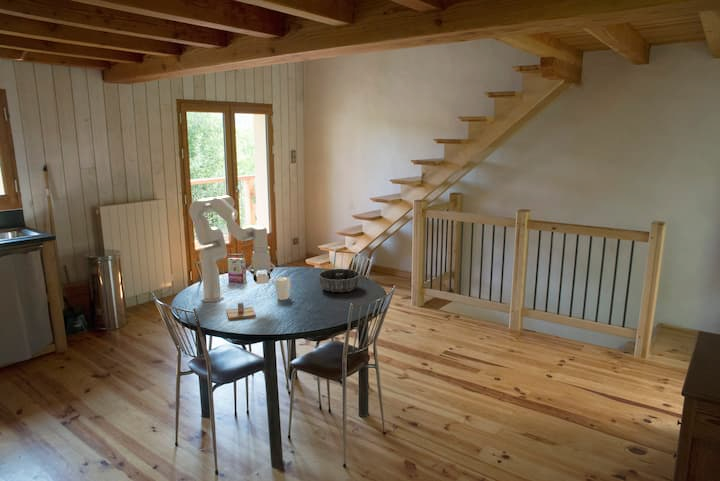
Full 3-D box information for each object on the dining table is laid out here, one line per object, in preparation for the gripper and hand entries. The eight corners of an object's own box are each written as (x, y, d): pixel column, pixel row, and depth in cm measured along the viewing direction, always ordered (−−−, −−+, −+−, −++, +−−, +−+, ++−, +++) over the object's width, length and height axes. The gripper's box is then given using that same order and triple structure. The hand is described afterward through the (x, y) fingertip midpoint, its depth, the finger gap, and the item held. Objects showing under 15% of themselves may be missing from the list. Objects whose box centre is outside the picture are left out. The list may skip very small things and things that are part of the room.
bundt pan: (360, 295, 302) (359, 279, 300) (316, 295, 303) (316, 279, 301) (360, 283, 328) (360, 268, 326) (320, 283, 329) (320, 268, 327)
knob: (268, 282, 276) (268, 275, 275) (257, 284, 274) (256, 277, 273) (266, 279, 284) (265, 272, 283) (254, 280, 282) (254, 273, 281)
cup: (276, 301, 293) (275, 281, 291) (275, 296, 302) (274, 277, 299) (291, 299, 295) (290, 280, 292) (290, 295, 303) (289, 276, 301)
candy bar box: (247, 281, 334) (245, 258, 331) (243, 283, 330) (241, 259, 326) (232, 280, 338) (230, 257, 334) (228, 282, 333) (226, 258, 330)
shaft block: (226, 312, 274) (226, 301, 273) (252, 309, 279) (251, 298, 277) (229, 320, 261) (228, 308, 260) (256, 317, 266) (255, 305, 264)
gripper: (275, 247, 281) (276, 277, 284) (243, 249, 275) (245, 280, 278) (277, 249, 274) (278, 281, 277) (245, 252, 268) (247, 284, 271)
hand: (262, 280), depth 278 cm, fingers closed on knob, 6 cm apart
